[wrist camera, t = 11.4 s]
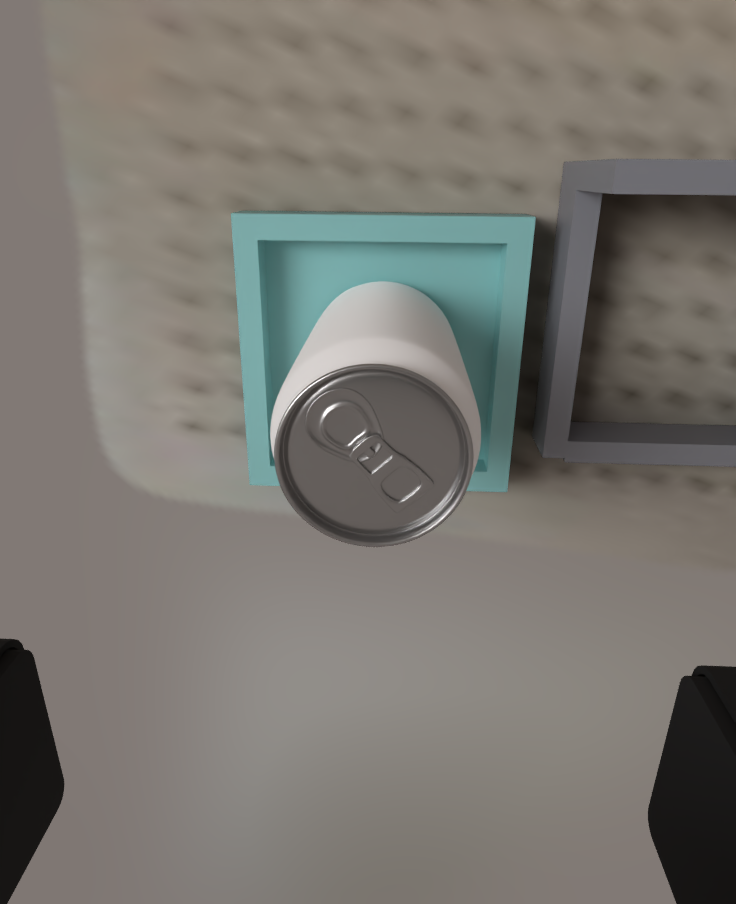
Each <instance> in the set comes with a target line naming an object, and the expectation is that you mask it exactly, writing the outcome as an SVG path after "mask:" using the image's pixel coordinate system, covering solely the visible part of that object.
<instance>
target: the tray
mask: <svg viewBox="0 0 736 904" xmlns="http://www.w3.org/2000/svg"><path fill="white" fill-rule="evenodd" d="M535 219H536V217H534V216H531V215H528V214H485V213H401V212H317V211H238V212H234V213H231V221H232V236H233V250H234V265H235V279H236V293H237V308H238V322H239V336H240V351H241V365H242V380H243V394H244V408H245V423H246V437H247V451H248V466H249V480H250V485H267V486H280V484H279V481H278V478H277V474H276V469H275V462H274V457H273V453H272V448H271V439H270V427H271V419H272V413H273V409H274V405H275V402H276V399H277V396H278V394H279V392H280V389H281V387H282V385H283V383H284V381H285V379H286V377H287V375H288V373H289V371H290V370H291V368H292V366H293V364H294V362H295V360H296V358H297V357H298V355H299V353H300V351H301V349H302V348H303V346H304V344H305V342H306V340H307V339H308V337H309V335H310V333H311V332H312V330H313V328H314V326H315V325H316V323H317V321H318V320H319V318H320V317H321V315H322V314H323V312H324V311H325V309H326V308H327V307H328V306H329V305H330V303H331V302H332V301H333V300H334V299H335V298H337V297H338V296H339V295H340V294H342V293H343V292H345V291H346V290H348V289H350V288H352V287H355V286H358V285H361V284H365V283H370V282H378V281H387V282H396V283H400V284H404V285H407V286H410V287H412V288H414V289H416V290H418V291H420V292H422V293H423V294H425V295H426V296H427V297H429V298H430V299H431V300H432V301H433V302H434V303H435V304H436V305H437V306H438V307H439V308H440V309H441V311H442V312H443V314H444V315H445V317H446V318H447V320H448V322H449V324H450V326H451V329H452V331H453V334H454V337H455V339H456V342H457V345H458V348H459V351H460V354H461V357H462V360H463V363H464V366H465V369H466V372H467V375H468V378H469V381H470V384H471V387H472V390H473V393H474V397H475V400H476V403H477V407H478V412H479V417H480V423H481V446H480V452H479V457H478V461H477V464H476V467H475V470H474V472H473V474H472V476H471V479H470V482H469V485H468V488H467V490H466V491H485V492H507V489H508V479H509V470H510V460H511V450H512V441H513V431H514V422H515V412H516V402H517V393H518V383H519V373H520V364H521V354H522V345H523V335H524V325H525V316H526V306H527V296H528V287H529V277H530V268H531V258H532V248H533V239H534V229H535Z"/></svg>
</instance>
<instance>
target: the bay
mask: <svg viewBox="0 0 736 904" xmlns="http://www.w3.org/2000/svg"><path fill="white" fill-rule="evenodd" d="M603 193H608V194H664V195H736V160H679V159H607V160H590V161H573V162H564V167H563V175H562V184H561V192H560V201H559V210H558V218H557V227H556V235H555V244H554V253H553V261H552V270H551V278H550V287H549V296H548V304H547V313H546V321H545V330H544V338H543V347H542V356H541V364H540V373H539V381H538V390H537V399H536V407H535V416H534V424H533V433H532V437H533V439H534V441H535V443H536V445H537V447H538V449H539V451H540V453H541V455H542V457H543V458H563V460H564V462H572V463H611V464H650V465H689V466H728V467H736V426H731V425H688V424H645V423H603V422H571V415H572V408H573V401H574V393H575V386H576V379H577V372H578V365H579V358H580V351H581V343H582V336H583V329H584V322H585V315H586V308H587V301H588V293H589V286H590V279H591V272H592V265H593V258H594V251H595V244H596V236H597V229H598V222H599V215H600V208H601V201H602V194H603Z"/></svg>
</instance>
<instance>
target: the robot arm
mask: <svg viewBox="0 0 736 904" xmlns="http://www.w3.org/2000/svg"><path fill="white" fill-rule="evenodd" d="M63 792H64V778H63V774H62V770H61V766H60V762H59V758H58V754H57V750H56V746H55V742H54V738H53V733H52V730H51V725H50V721H49V717H48V713H47V709H46V705H45V701H44V697H43V693H42V689H41V684H40V681H39V676H38V672H37V668H36V664H35V660H34V657H33V654H32V653H31V652H30V651H29V650H24V648H23V645H22V644H21V643H20V642H19V641H18V640H15V639H0V904H7V903H8V901H9V899H10V897H11V896H12V894H13V892H14V890H15V888H16V886H17V884H18V882H19V881H20V879H21V877H22V875H23V873H24V871H25V870H26V868H27V866H28V864H29V862H30V860H31V858H32V856H33V855H34V853H35V851H36V849H37V847H38V845H39V844H40V842H41V840H42V838H43V836H44V834H45V832H46V830H47V829H48V827H49V825H50V823H51V821H52V819H53V817H54V816H55V814H56V812H57V810H58V808H59V806H60V804H61V800H62V797H63ZM648 822H649V828H650V832H651V836H652V839H653V842H654V845H655V847H656V850H657V853H658V855H659V858H660V861H661V863H662V866H663V869H664V871H665V874H666V877H667V879H668V882H669V885H670V887H671V890H672V893H673V895H674V898H675V901H676V903H677V904H736V667H725V666H697V667H696V668H695V669H694V671H693V674H692V676H684V677H683V678H682V679H681V682H680V685H679V689H678V693H677V697H676V701H675V705H674V709H673V713H672V716H671V720H670V725H669V728H668V732H667V736H666V740H665V744H664V748H663V753H662V756H661V760H660V764H659V768H658V772H657V776H656V780H655V784H654V788H653V792H652V796H651V800H650V804H649V808H648Z"/></svg>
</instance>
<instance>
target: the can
mask: <svg viewBox="0 0 736 904" xmlns="http://www.w3.org/2000/svg"><path fill="white" fill-rule="evenodd" d="M270 439H271V448H272V453H273V457H274V462H275V469H276V474H277V478H278V481H279V484H280V486H281V489H282V491H283V493H284V495H285V497H286V498H287V500H288V502H289V503H290V505H291V506H292V507H293V509H294V510H295V511H296V512H297V513H298V514H299V515H300V516H301V517H302V518H303V519H304V520H305V521H306V522H307V523H309V524H310V525H311V526H312V527H314V528H315V529H317V530H318V531H320V532H321V533H323V534H325V535H327V536H329V537H331V538H334V539H336V540H339V541H341V542H345V543H348V544H353V545H358V546H366V547H384V546H393V545H398V544H402V543H406V542H409V541H412V540H415V539H417V538H419V537H421V536H423V535H425V534H427V533H429V532H430V531H432V530H434V529H435V528H436V527H438V526H439V525H440V524H442V523H443V522H444V521H445V520H446V519H447V518H448V517H449V516H450V515H451V514H452V513H453V512H454V510H455V509H456V508H457V506H458V505H459V503H460V502H461V500H462V498H463V497H464V495H465V493H466V490H467V488H468V485H469V482H470V479H471V476H472V474H473V472H474V470H475V467H476V464H477V461H478V457H479V452H480V446H481V423H480V417H479V412H478V407H477V403H476V400H475V397H474V393H473V390H472V387H471V384H470V381H469V378H468V375H467V372H466V369H465V366H464V363H463V360H462V357H461V354H460V351H459V348H458V345H457V342H456V339H455V337H454V334H453V331H452V329H451V326H450V324H449V322H448V320H447V318H446V317H445V315H444V314H443V312H442V311H441V309H440V308H439V307H438V306H437V305H436V304H435V303H434V302H433V301H432V300H431V299H430V298H429V297H427V296H426V295H425V294H423V293H422V292H420V291H418V290H416V289H414V288H412V287H410V286H407V285H404V284H400V283H396V282H387V281H378V282H370V283H365V284H361V285H358V286H355V287H352V288H350V289H348V290H346V291H345V292H343V293H342V294H340V295H339V296H338V297H337V298H335V299H334V300H333V301H332V302H331V303H330V305H329V306H328V307H327V308H326V309H325V311H324V312H323V314H322V315H321V317H320V318H319V320H318V321H317V323H316V325H315V326H314V328H313V330H312V332H311V333H310V335H309V337H308V339H307V340H306V342H305V344H304V346H303V348H302V349H301V351H300V353H299V355H298V357H297V358H296V360H295V362H294V364H293V366H292V368H291V370H290V371H289V373H288V375H287V377H286V379H285V381H284V383H283V385H282V387H281V389H280V392H279V394H278V396H277V399H276V402H275V405H274V409H273V413H272V419H271V427H270Z"/></svg>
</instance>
